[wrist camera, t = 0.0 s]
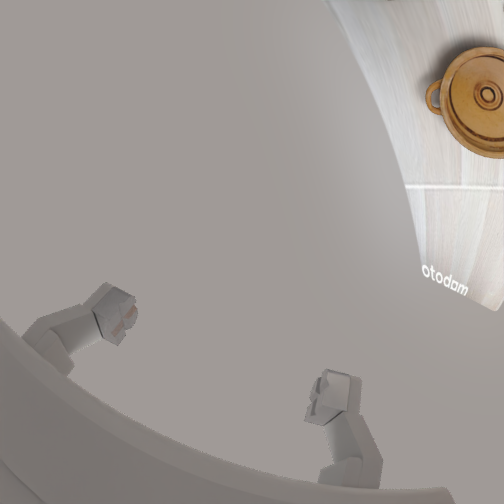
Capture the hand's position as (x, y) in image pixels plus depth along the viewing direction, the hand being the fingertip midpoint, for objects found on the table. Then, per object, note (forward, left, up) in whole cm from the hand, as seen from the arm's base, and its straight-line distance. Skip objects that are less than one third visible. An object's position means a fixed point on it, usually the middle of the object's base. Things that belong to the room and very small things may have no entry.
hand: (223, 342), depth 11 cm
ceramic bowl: (+17, +25, -55) cm, 62 cm away
